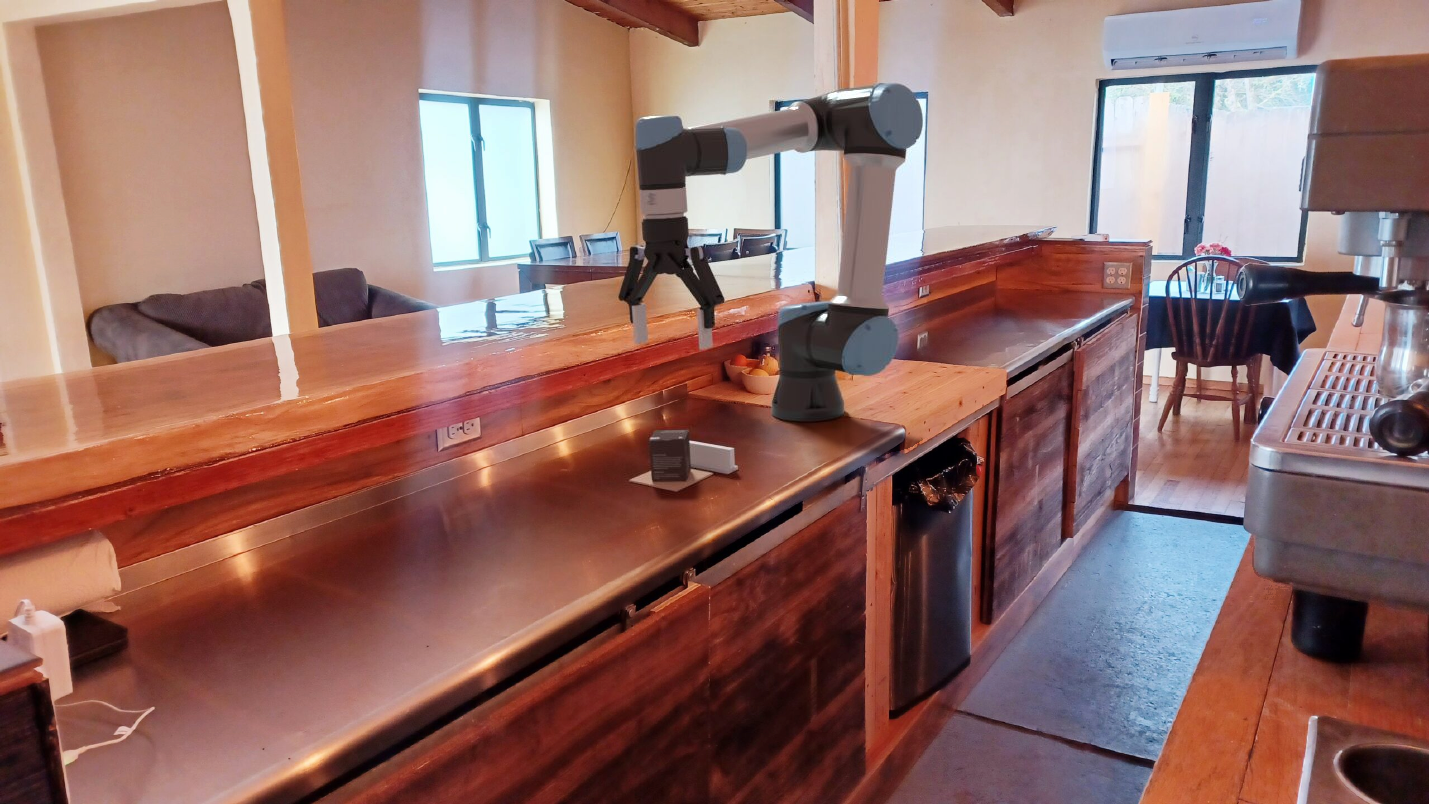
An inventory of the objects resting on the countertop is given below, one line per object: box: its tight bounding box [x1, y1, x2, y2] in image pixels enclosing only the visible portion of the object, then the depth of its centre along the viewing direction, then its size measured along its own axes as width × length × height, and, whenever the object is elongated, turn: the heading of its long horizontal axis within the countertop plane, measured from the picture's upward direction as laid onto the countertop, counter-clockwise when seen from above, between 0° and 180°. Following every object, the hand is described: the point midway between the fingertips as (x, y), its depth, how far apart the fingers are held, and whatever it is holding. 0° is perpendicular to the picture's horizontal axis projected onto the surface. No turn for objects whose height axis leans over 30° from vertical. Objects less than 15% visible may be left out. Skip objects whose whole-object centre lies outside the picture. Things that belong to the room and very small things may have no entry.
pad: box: [628, 468, 714, 492], centre depth 159 cm, size 10×10×1 cm
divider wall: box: [689, 440, 739, 475], centre depth 164 cm, size 3×13×4 cm, turn 54°
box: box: [648, 429, 692, 481], centre depth 158 cm, size 6×6×7 cm
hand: (673, 345), depth 158 cm, fingers open, 13 cm apart
